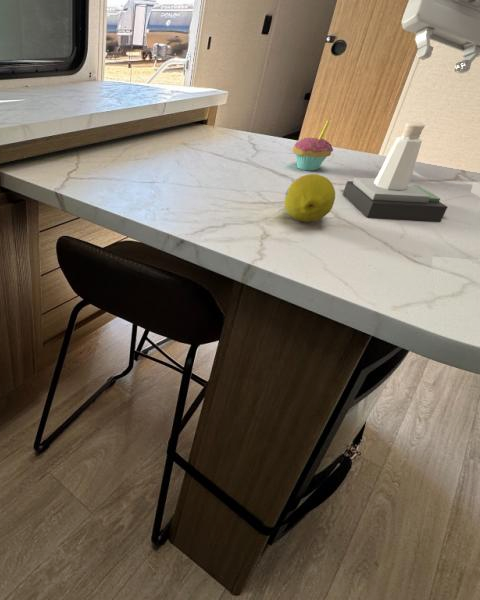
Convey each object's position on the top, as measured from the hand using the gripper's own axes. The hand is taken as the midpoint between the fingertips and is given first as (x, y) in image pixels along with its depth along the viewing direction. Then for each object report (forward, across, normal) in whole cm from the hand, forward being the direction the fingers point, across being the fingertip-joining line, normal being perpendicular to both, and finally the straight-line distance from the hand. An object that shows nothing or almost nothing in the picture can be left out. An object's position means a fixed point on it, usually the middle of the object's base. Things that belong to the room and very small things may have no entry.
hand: (442, 64), depth 80 cm
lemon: (+36, -25, -4) cm, 44 cm away
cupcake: (+17, -7, +23) cm, 30 cm away
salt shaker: (+26, -8, -3) cm, 27 cm away
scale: (+29, -6, -2) cm, 30 cm away
